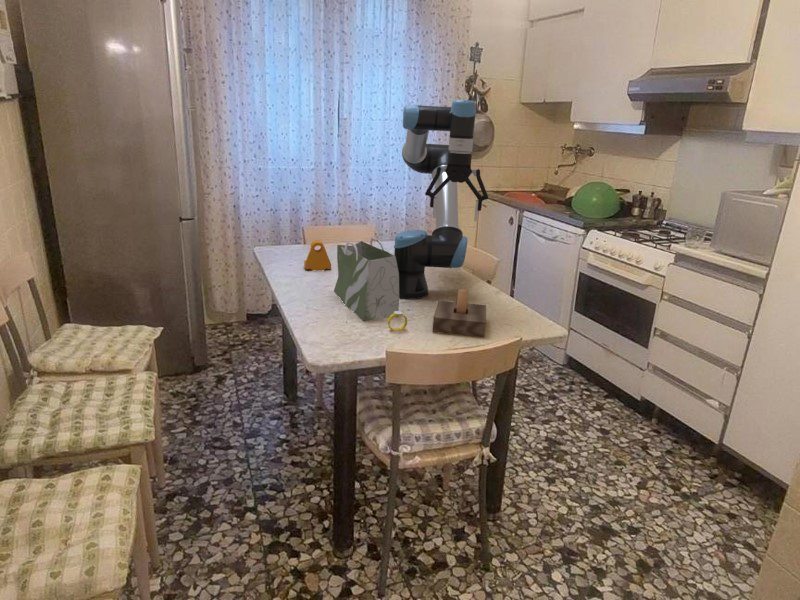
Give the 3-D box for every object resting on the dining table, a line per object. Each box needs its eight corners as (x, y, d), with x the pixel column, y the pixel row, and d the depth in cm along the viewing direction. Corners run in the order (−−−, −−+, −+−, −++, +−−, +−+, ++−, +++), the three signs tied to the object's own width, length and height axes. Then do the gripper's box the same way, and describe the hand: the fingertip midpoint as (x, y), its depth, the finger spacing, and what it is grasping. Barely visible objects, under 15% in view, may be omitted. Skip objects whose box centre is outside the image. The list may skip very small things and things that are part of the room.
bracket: (329, 265, 229) (329, 238, 225) (331, 270, 222) (331, 242, 219) (304, 266, 227) (303, 238, 223) (305, 271, 220) (304, 242, 216)
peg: (454, 326, 169) (458, 291, 165) (455, 323, 172) (458, 288, 168) (464, 327, 169) (467, 292, 165) (464, 324, 172) (468, 289, 168)
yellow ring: (404, 328, 167) (406, 310, 165) (406, 332, 164) (409, 314, 162) (386, 328, 165) (388, 310, 163) (388, 331, 162) (390, 313, 160)
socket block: (432, 332, 164) (433, 317, 162) (437, 314, 179) (438, 300, 177) (484, 337, 162) (485, 322, 160) (484, 319, 177) (486, 305, 175)
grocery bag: (330, 291, 196) (330, 230, 189) (364, 288, 202) (366, 228, 194) (361, 322, 169) (363, 252, 161) (400, 317, 175) (404, 249, 167)
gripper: (419, 150, 165) (415, 218, 172) (500, 155, 161) (492, 224, 168) (422, 149, 172) (418, 214, 179) (499, 153, 168) (492, 219, 175)
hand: (454, 219), depth 174 cm, fingers open, 13 cm apart
